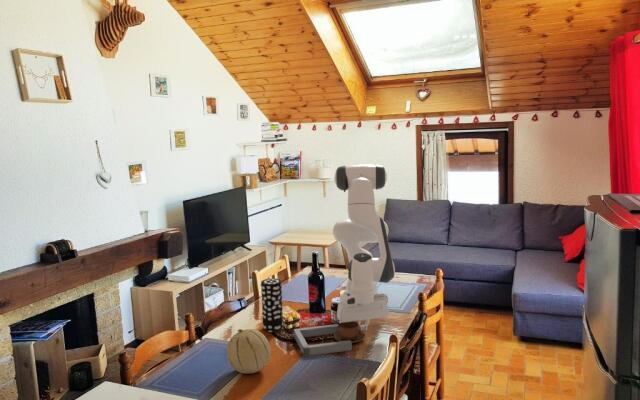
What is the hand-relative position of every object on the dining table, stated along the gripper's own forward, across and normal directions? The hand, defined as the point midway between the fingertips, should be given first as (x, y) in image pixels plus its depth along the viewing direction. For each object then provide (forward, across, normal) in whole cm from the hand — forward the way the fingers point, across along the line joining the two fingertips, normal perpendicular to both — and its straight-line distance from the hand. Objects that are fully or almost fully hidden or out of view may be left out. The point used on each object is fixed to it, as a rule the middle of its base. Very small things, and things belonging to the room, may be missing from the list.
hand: (363, 330), depth 205 cm
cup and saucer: (+3, +6, 0) cm, 7 cm away
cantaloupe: (+4, +46, +15) cm, 49 cm away
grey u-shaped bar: (+3, +16, 0) cm, 17 cm away
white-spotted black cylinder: (+3, +32, -21) cm, 38 cm away
